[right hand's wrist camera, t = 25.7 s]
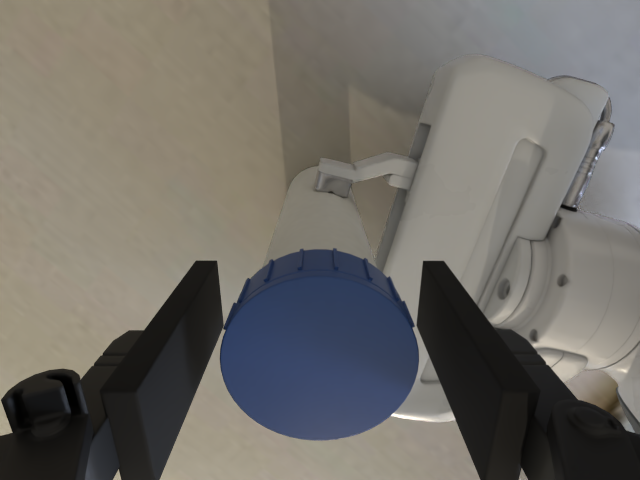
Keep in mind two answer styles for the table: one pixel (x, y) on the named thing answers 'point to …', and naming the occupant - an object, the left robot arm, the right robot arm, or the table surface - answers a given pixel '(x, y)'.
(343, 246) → the white bottle
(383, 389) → the lid
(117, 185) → the table surface
